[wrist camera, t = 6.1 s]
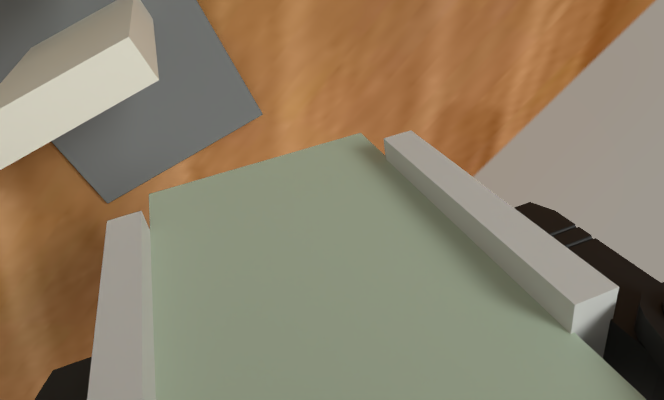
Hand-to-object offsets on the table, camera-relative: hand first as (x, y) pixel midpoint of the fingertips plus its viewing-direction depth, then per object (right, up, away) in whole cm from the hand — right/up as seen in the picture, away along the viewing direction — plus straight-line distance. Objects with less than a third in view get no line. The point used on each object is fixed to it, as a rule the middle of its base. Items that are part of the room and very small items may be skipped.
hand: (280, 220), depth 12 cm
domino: (-11, +9, +13) cm, 20 cm away
